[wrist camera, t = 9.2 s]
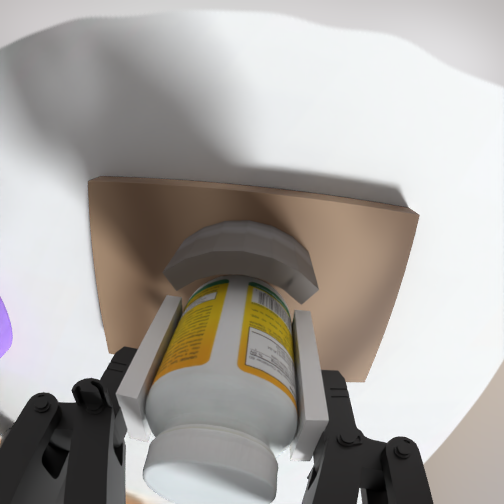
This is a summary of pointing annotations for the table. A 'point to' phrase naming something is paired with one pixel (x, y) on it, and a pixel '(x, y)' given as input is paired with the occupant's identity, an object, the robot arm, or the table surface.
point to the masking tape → (4, 330)
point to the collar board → (250, 256)
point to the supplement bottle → (224, 397)
